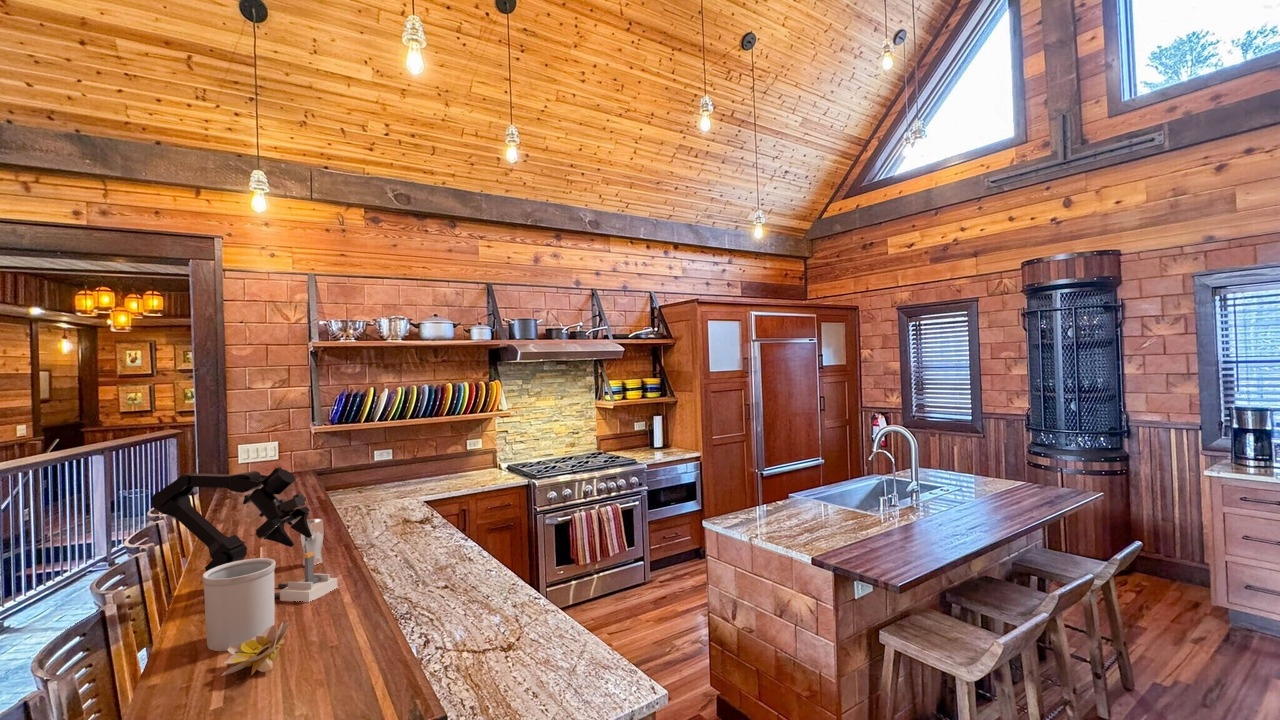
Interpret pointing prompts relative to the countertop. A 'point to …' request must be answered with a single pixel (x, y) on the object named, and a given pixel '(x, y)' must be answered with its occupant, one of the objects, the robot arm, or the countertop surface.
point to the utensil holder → (238, 601)
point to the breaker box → (306, 589)
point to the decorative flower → (257, 650)
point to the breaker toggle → (309, 568)
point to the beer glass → (314, 540)
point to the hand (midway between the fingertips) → (301, 541)
